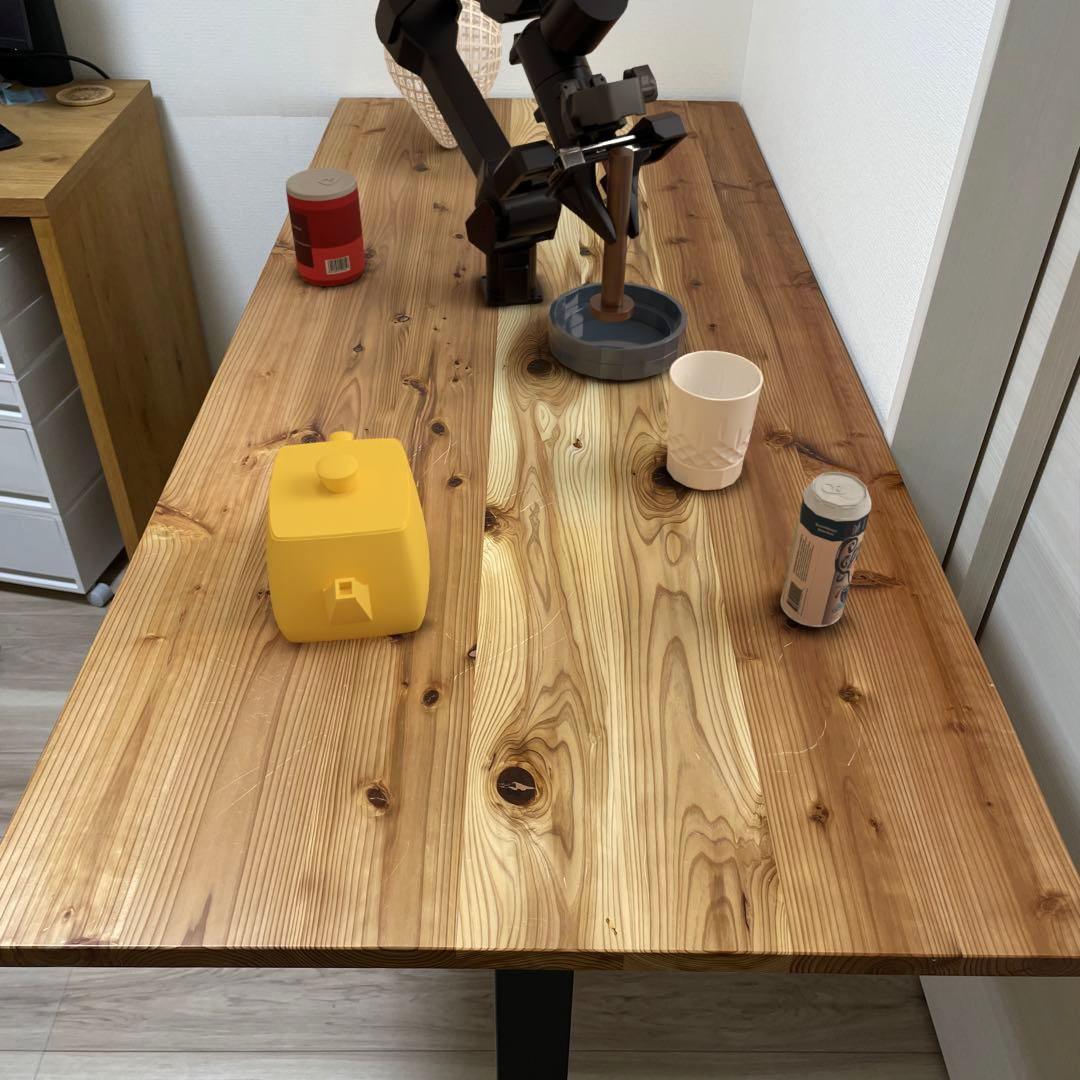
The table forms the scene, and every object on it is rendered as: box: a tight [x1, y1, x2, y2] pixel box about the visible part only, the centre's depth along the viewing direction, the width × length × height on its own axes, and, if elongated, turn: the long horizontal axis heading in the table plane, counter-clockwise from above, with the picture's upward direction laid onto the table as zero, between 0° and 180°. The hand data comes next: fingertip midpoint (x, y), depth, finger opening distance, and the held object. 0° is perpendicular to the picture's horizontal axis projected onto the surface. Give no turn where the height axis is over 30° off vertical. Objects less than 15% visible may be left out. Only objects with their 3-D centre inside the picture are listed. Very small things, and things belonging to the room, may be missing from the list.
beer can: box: [780, 471, 872, 628], centre depth 79 cm, size 5×5×12 cm
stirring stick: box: [589, 147, 634, 323], centre depth 100 cm, size 4×4×16 cm
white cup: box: [665, 350, 764, 491], centre depth 94 cm, size 8×8×10 cm
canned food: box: [285, 167, 366, 287], centre depth 122 cm, size 8×8×11 cm
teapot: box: [265, 430, 431, 643], centre depth 81 cm, size 20×12×12 cm, turn 8°
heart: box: [382, 0, 503, 149], centre depth 148 cm, size 28×16×22 cm, turn 2°
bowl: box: [547, 281, 688, 381], centre depth 112 cm, size 14×14×4 cm
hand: (624, 240), depth 100 cm, fingers closed on stirring stick, 2 cm apart
